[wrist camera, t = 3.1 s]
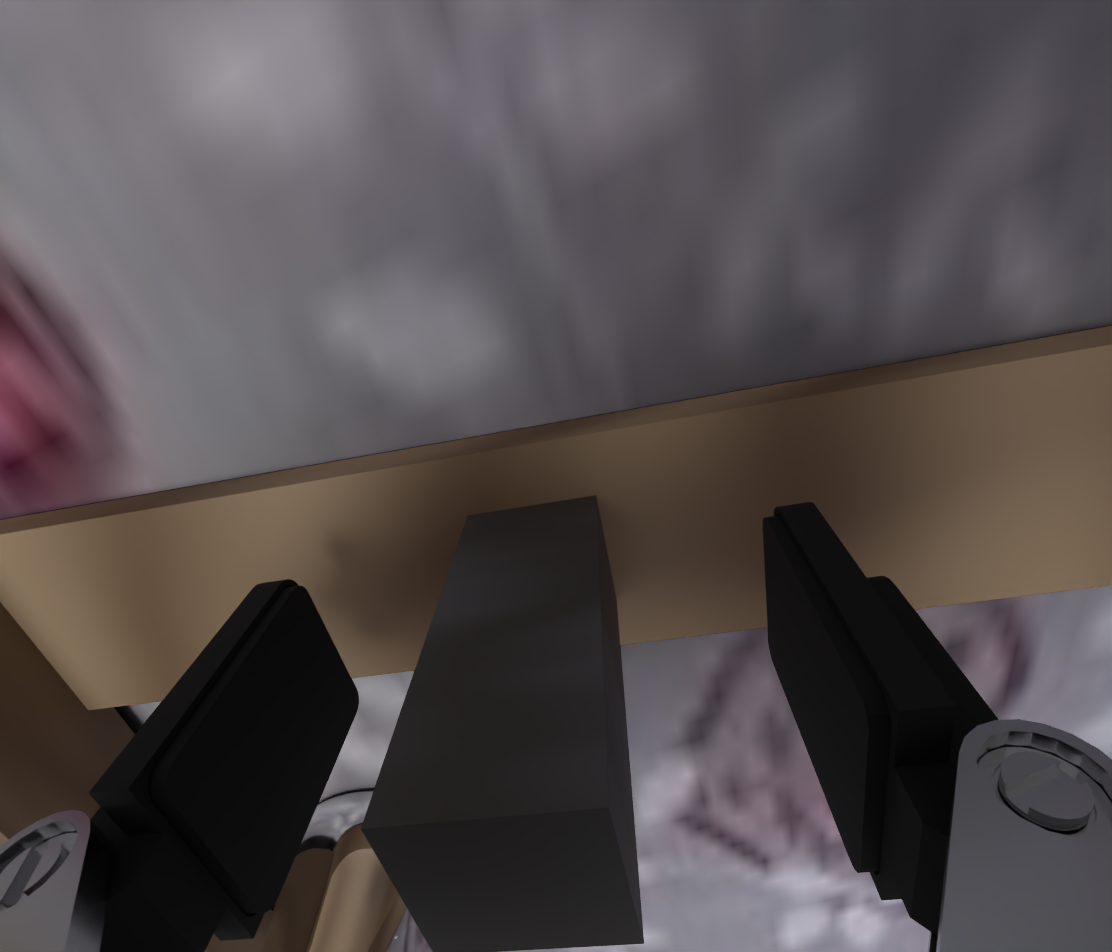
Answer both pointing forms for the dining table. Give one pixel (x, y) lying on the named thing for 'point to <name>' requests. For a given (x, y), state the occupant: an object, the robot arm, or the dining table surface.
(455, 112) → the dining table surface
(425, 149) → the dining table surface
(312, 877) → the beer glass
